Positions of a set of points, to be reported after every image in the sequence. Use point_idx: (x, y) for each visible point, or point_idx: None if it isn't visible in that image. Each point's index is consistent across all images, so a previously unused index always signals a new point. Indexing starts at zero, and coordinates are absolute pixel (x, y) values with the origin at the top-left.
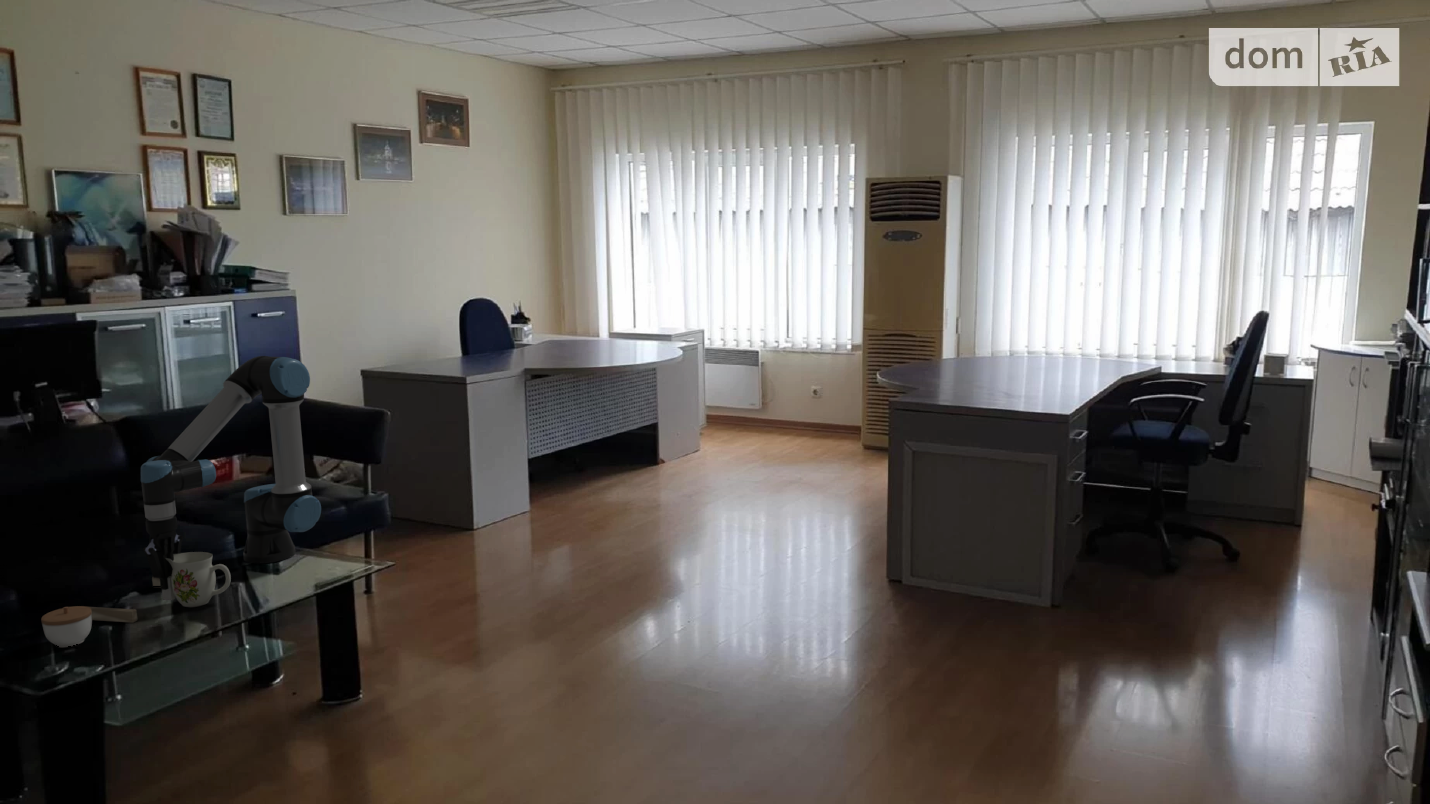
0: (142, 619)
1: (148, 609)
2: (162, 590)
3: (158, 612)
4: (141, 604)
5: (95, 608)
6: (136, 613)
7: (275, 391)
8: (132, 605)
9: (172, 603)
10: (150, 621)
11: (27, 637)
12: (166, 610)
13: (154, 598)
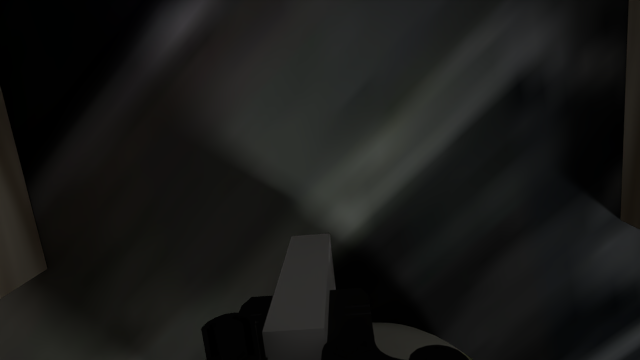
0: (69, 284)
1: (207, 185)
2: (282, 270)
3: (187, 288)
4: (267, 54)
5: None
6: (13, 289)
7: None
8: (232, 3)
9: (339, 252)
10: (65, 351)
11: None
12: (228, 309)
13: (393, 45)
